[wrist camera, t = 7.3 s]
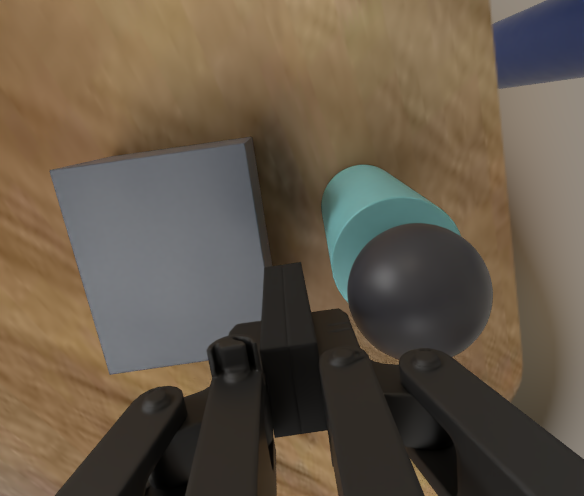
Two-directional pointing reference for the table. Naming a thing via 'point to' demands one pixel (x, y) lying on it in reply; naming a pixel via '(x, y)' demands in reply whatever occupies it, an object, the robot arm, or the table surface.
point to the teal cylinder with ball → (403, 265)
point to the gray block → (167, 248)
